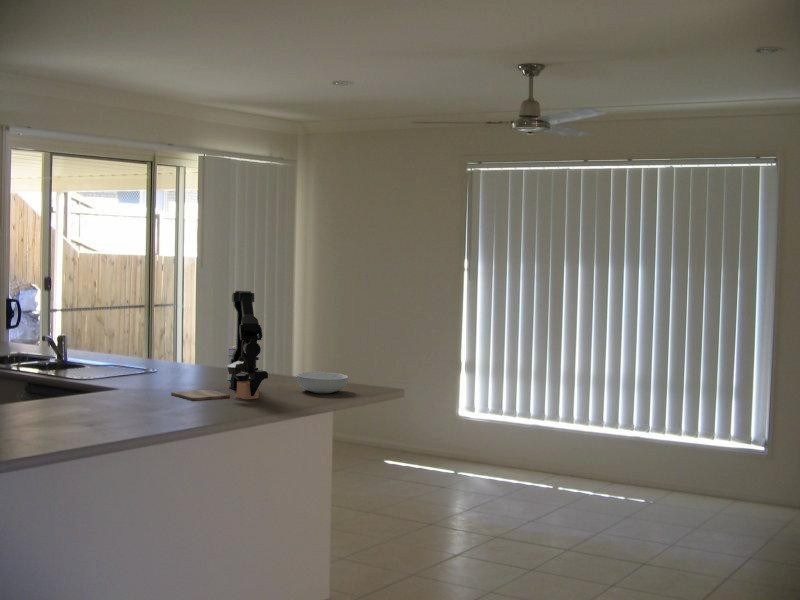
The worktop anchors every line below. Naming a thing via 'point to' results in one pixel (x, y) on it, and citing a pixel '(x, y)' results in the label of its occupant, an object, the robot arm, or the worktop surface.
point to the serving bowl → (322, 381)
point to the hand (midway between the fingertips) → (247, 394)
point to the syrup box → (230, 353)
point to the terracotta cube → (245, 390)
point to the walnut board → (200, 395)
